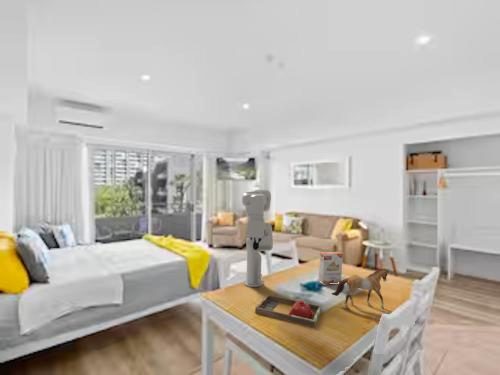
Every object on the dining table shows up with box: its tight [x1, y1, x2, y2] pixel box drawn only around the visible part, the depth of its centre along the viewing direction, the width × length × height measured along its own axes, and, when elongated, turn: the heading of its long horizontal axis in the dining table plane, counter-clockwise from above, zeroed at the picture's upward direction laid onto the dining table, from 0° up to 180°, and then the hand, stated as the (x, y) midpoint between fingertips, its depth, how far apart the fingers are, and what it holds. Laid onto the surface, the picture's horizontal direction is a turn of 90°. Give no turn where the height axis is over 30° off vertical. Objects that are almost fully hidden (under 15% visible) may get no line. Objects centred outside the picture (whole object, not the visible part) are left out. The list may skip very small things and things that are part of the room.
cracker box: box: [318, 251, 343, 284], centre depth 181 cm, size 14×6×21 cm, turn 105°
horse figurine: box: [331, 268, 389, 309], centre depth 149 cm, size 31×8×21 cm, turn 91°
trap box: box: [255, 294, 322, 328], centre depth 140 cm, size 18×30×3 cm, turn 65°
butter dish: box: [288, 299, 315, 320], centre depth 135 cm, size 12×12×8 cm
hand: (255, 249), depth 152 cm, fingers closed
